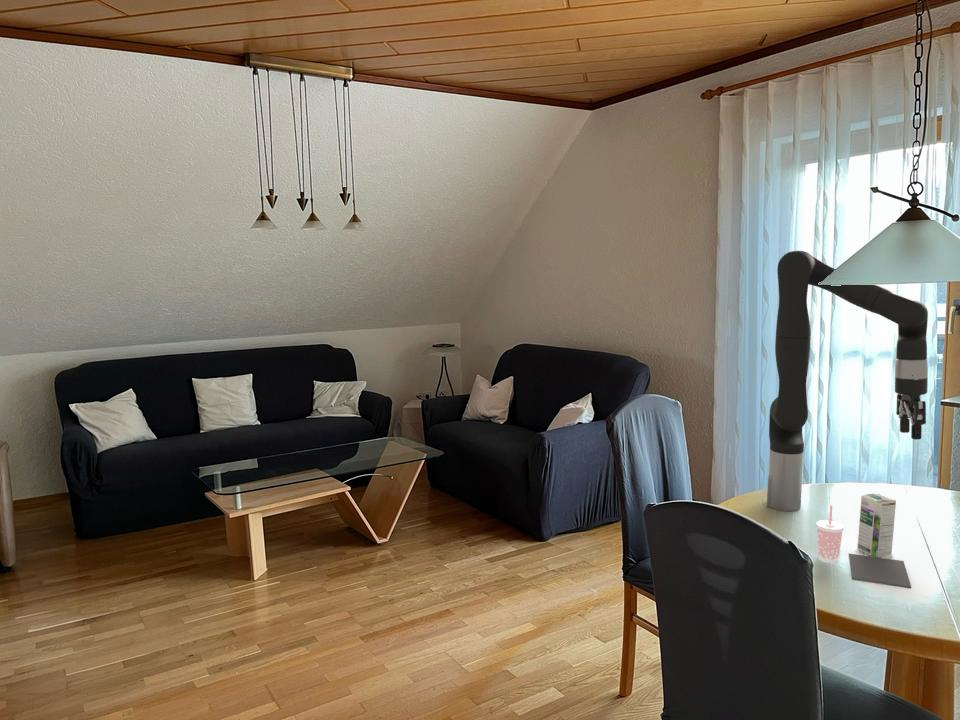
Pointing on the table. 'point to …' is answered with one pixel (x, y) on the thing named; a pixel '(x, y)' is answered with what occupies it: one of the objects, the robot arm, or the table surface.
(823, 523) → the beverage cup
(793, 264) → the robot arm
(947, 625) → the table surface
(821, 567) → the table surface
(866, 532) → the syrup box
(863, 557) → the mat
